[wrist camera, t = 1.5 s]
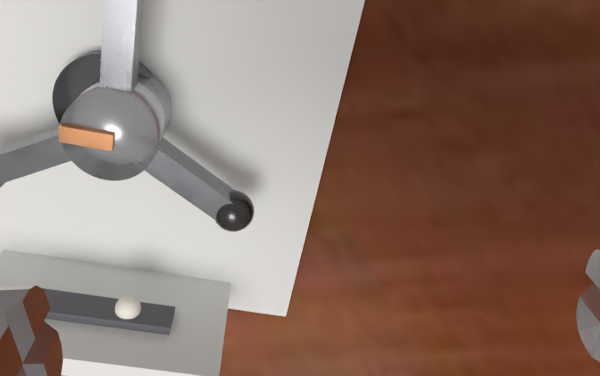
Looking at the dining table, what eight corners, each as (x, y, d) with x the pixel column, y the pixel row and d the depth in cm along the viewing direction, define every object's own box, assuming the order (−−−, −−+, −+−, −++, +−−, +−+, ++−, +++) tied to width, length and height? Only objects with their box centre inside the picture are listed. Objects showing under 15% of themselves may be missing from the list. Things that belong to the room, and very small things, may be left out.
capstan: (297, -28, 27) (301, -13, 23) (253, 204, 33) (248, 251, 29) (-23, -98, 26) (-85, -95, 21) (-11, 161, 32) (-57, 204, 27)
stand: (362, -10, 30) (394, 30, 21) (285, 302, 39) (286, 414, 31) (-84, -106, 27) (-247, -104, 19) (-50, 253, 37) (-149, 362, 28)
